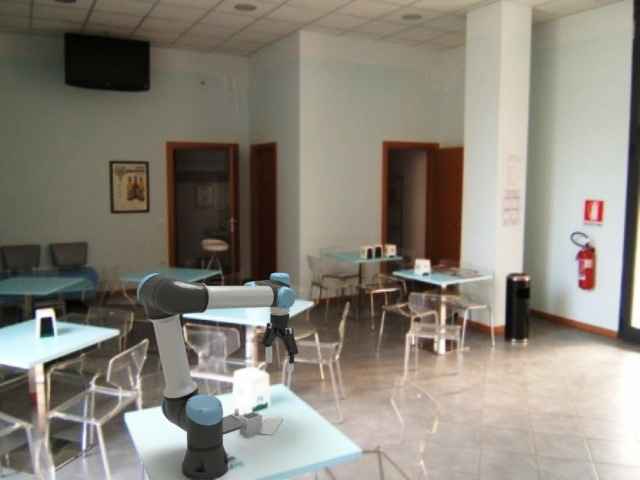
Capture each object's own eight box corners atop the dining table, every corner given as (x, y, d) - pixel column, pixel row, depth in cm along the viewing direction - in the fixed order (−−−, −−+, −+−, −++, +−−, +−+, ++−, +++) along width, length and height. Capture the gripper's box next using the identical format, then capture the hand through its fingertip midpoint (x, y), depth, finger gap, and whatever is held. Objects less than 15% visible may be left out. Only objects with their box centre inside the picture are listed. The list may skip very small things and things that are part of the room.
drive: (246, 438, 216) (246, 419, 215) (239, 433, 219) (239, 415, 219) (262, 433, 220) (262, 414, 219) (254, 428, 224) (254, 410, 223)
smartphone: (255, 433, 219) (266, 417, 234) (255, 435, 219) (266, 419, 234) (273, 435, 218) (283, 419, 232) (273, 436, 218) (283, 420, 233)
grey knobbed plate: (217, 436, 217) (217, 426, 217) (200, 426, 226) (200, 416, 226) (252, 424, 228) (252, 415, 227) (235, 415, 237) (235, 406, 236)
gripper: (308, 317, 218) (307, 373, 220) (268, 306, 236) (268, 357, 238) (292, 320, 213) (291, 377, 215) (253, 309, 231) (252, 361, 233)
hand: (279, 367), depth 227 cm, fingers open, 13 cm apart
